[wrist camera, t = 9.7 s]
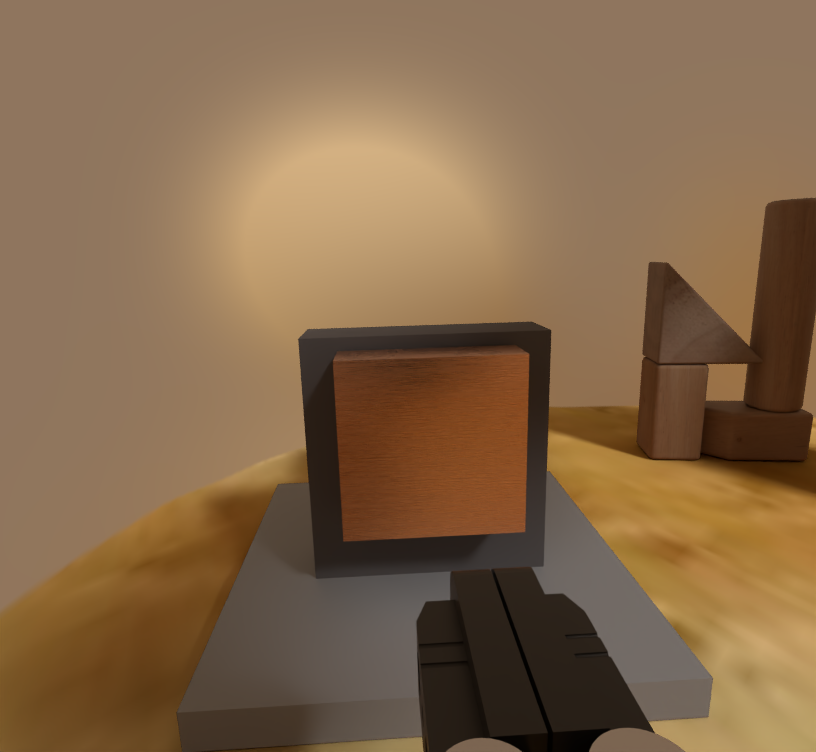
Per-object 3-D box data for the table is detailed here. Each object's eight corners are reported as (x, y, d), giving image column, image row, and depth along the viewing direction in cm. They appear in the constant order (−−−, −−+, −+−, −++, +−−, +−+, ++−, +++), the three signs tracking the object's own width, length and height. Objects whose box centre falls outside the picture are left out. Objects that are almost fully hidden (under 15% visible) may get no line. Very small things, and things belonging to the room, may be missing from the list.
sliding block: (467, 422, 34) (467, 313, 33) (525, 532, 21) (529, 354, 19) (357, 427, 34) (352, 317, 32) (343, 541, 20) (333, 361, 19)
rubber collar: (526, 534, 26) (531, 321, 24) (543, 566, 24) (551, 330, 21) (322, 544, 26) (307, 329, 24) (315, 578, 23) (298, 338, 21)
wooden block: (634, 444, 43) (651, 207, 39) (779, 445, 41) (812, 201, 37) (650, 461, 39) (670, 202, 35) (809, 463, 38) (848, 196, 34)
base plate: (548, 493, 34) (549, 471, 34) (708, 716, 18) (713, 678, 17) (280, 506, 33) (278, 483, 33) (182, 752, 17) (176, 712, 16)
